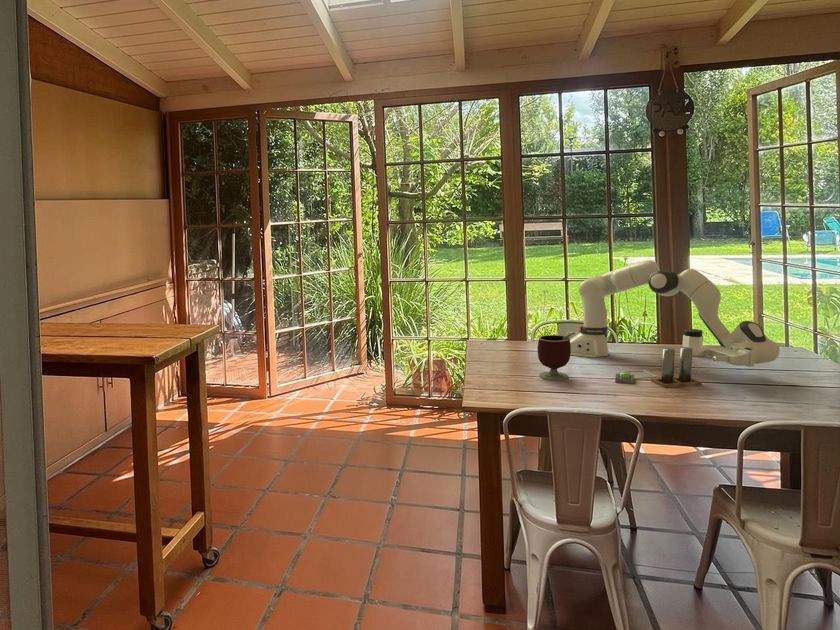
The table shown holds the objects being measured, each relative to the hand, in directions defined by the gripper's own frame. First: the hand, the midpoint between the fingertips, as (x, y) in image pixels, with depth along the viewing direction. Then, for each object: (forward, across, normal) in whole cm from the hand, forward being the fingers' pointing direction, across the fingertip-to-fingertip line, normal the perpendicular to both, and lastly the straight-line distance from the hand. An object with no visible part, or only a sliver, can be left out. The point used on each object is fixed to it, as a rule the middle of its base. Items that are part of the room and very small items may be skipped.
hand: (706, 356), depth 212 cm
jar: (-26, -47, +12) cm, 55 cm away
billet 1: (+16, 0, +10) cm, 19 cm away
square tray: (+20, -15, +11) cm, 28 cm away
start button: (+30, -8, +11) cm, 33 cm away
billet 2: (+9, 0, +10) cm, 13 cm away
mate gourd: (+54, -23, +11) cm, 59 cm away
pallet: (+12, 0, +12) cm, 17 cm away
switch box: (+30, -8, +11) cm, 33 cm away
